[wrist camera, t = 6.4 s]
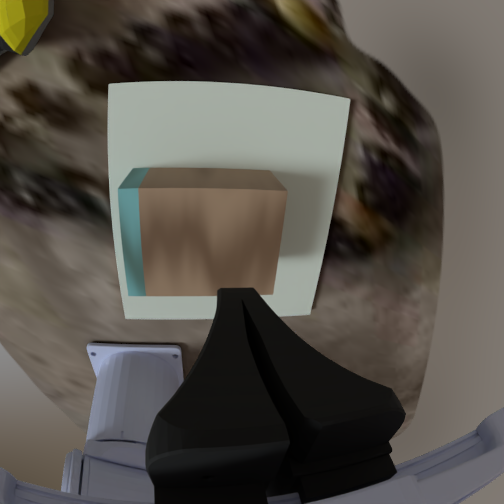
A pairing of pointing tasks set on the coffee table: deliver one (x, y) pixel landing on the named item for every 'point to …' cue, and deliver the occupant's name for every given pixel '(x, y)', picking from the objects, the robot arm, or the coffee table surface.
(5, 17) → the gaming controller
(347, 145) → the coffee table surface
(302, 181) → the sage mat
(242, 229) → the walnut block
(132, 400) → the robot arm
